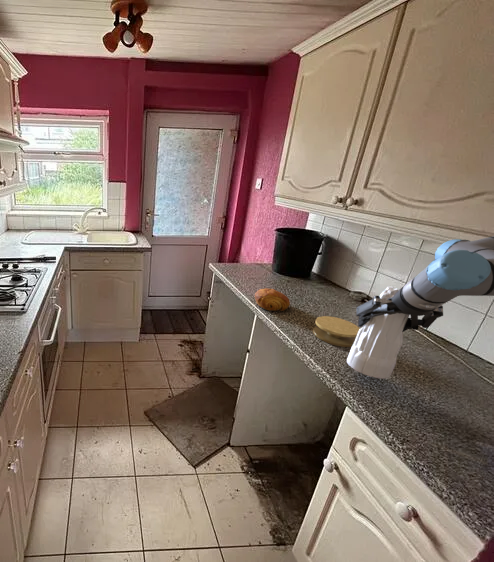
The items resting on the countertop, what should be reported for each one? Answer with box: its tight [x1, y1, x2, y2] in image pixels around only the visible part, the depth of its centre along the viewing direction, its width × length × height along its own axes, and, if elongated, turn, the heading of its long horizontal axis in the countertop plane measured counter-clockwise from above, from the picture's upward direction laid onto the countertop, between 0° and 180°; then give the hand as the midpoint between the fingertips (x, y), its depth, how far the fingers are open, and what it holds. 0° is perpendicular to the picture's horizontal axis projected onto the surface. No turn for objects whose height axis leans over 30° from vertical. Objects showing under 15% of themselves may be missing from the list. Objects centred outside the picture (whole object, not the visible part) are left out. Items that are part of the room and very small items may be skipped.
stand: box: [312, 315, 361, 348], centre depth 116 cm, size 14×14×5 cm
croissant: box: [254, 287, 291, 312], centre depth 140 cm, size 14×16×8 cm
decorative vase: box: [346, 285, 410, 380], centre depth 89 cm, size 11×11×25 cm
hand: (378, 325), depth 92 cm, fingers closed on decorative vase, 8 cm apart
